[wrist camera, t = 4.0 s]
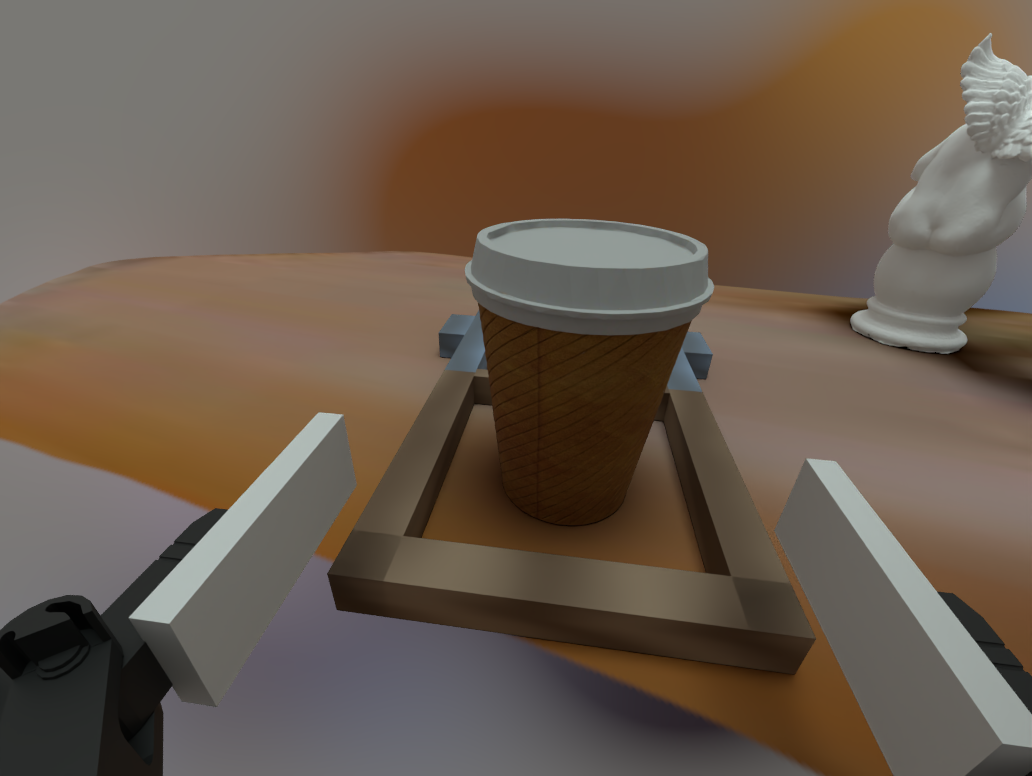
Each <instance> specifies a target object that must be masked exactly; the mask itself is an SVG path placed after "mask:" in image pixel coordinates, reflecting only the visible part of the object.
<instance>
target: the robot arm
mask: <svg viewBox="0 0 1032 776" xmlns="http://www.w3.org/2000/svg"><path fill="white" fill-rule="evenodd" d="M356 485H357V484H356V479H355V474H354V469H353V463H352V458H351V453H350V448H349V442H348V437H347V432H346V427H345V421H344V416H343V415H341V414H331V413H320V412H319V413H318V414H317V415H316V416H315V417H314V418H313V419H312V420H311V421H310V422H309V423H308V425H307V426H306V427H305V428H304V429H303V430H302V431H301V432H300V433H299V434H298V435H297V436H296V437H295V439H294V440H293V441H292V442H291V443H290V444H289V445H288V446H287V447H286V448H285V449H284V450H283V451H282V453H281V454H280V455H279V456H278V457H277V458H276V459H275V460H274V461H273V462H272V463H271V464H270V466H269V467H268V468H267V469H266V470H265V471H264V472H263V473H262V474H261V475H260V476H259V477H258V478H257V480H256V481H255V482H254V483H253V484H252V485H251V486H250V487H249V488H248V489H247V490H246V491H245V493H244V494H243V495H242V496H241V497H240V498H239V499H238V500H237V501H236V502H235V503H234V504H233V505H232V507H231V508H230V509H229V510H226V509H217V508H215V509H214V510H212V511H210V512H209V513H207V514H206V515H204V516H202V517H201V518H199V519H198V520H196V521H195V522H193V523H192V524H191V525H190V526H189V527H188V528H187V529H186V530H185V531H184V532H183V533H182V534H181V535H180V536H179V537H178V538H177V539H176V540H175V541H174V544H173V545H170V546H169V547H168V548H167V549H166V550H165V551H164V552H163V553H162V554H161V555H160V556H159V557H160V558H159V560H155V561H154V562H153V563H152V564H151V565H150V566H149V567H148V568H147V569H146V570H145V571H144V572H143V573H142V574H141V576H139V577H138V578H137V579H136V580H135V582H133V583H132V584H131V585H130V586H129V588H127V589H126V590H125V592H124V593H123V594H122V595H121V596H120V597H119V598H118V599H117V600H116V601H115V602H114V603H113V604H112V605H111V606H110V607H109V608H108V609H107V610H106V611H105V612H104V613H103V614H102V615H101V616H100V614H99V613H98V612H97V610H96V609H95V607H94V606H93V604H92V603H91V601H90V600H88V599H86V598H85V597H83V596H78V595H76V596H75V595H66V596H62V597H58V598H54V599H50V600H47V601H45V602H43V603H40V604H38V605H36V606H34V607H32V608H30V609H28V610H26V611H25V612H23V613H22V614H20V615H19V616H17V617H16V618H14V619H13V620H11V621H10V622H9V623H8V624H6V625H5V626H4V627H3V628H2V629H1V630H0V776H163V710H162V706H161V703H160V701H161V700H162V699H163V697H164V696H165V695H166V693H167V692H168V691H169V689H170V688H171V687H173V688H174V690H175V691H176V693H177V695H178V696H179V698H180V699H181V701H182V702H188V703H195V704H201V705H207V706H213V707H217V706H218V705H219V703H220V702H221V700H222V698H223V697H224V695H225V694H226V692H227V690H228V689H229V687H230V686H231V684H232V682H233V681H234V679H235V678H236V676H237V674H238V673H239V671H240V670H241V668H242V667H243V665H244V663H245V662H246V660H247V659H248V657H249V655H250V654H251V652H252V651H253V649H254V648H255V646H256V644H257V643H258V641H259V640H260V638H261V636H262V634H263V633H264V632H265V630H266V628H267V627H268V625H269V624H270V622H271V620H272V619H273V617H274V616H275V614H276V613H277V611H278V609H279V608H280V606H281V605H282V603H283V601H284V600H285V598H286V596H287V595H288V593H289V592H290V590H291V588H292V587H293V586H294V584H295V582H296V581H297V579H298V578H299V576H300V574H301V573H302V571H303V570H304V568H305V566H306V565H307V563H308V562H309V560H310V559H311V557H312V555H313V554H314V552H315V551H316V549H317V547H318V546H319V544H320V543H321V541H322V539H323V538H324V536H325V535H326V533H327V532H328V530H329V528H330V527H331V525H332V524H333V522H334V520H335V519H336V517H337V516H338V514H339V512H340V511H341V509H342V508H343V506H344V504H345V503H346V501H347V500H348V498H349V497H350V495H351V493H352V492H353V490H354V489H355V487H356ZM774 531H775V533H776V535H777V537H778V539H779V541H780V544H781V546H782V548H783V550H784V552H785V554H786V556H787V558H788V560H789V562H790V564H791V566H792V568H793V570H794V572H795V574H796V576H797V578H798V581H799V583H800V585H801V587H802V589H803V591H804V593H805V595H806V597H807V599H808V601H809V603H810V605H811V607H812V609H813V611H814V613H815V615H816V617H817V620H818V622H819V624H820V626H821V628H822V630H823V632H824V634H825V636H826V638H827V640H828V642H829V644H830V646H831V648H832V650H833V652H834V654H835V657H836V659H837V661H838V663H839V665H840V667H841V669H842V671H843V673H844V675H845V677H846V679H847V681H848V683H849V685H850V687H851V689H852V691H853V694H854V696H855V698H856V700H857V702H858V704H859V706H860V708H861V710H862V712H863V714H864V716H865V718H866V720H867V722H868V724H869V726H870V728H871V731H872V733H873V735H874V737H875V739H876V741H877V743H878V745H879V747H880V749H881V751H882V753H883V755H884V757H885V759H886V761H887V763H888V765H889V768H890V770H891V772H892V774H893V776H1032V676H1031V675H1030V674H1029V673H1028V672H1025V671H1024V670H1023V666H1022V664H1021V663H1020V662H1019V661H1018V659H1017V658H1016V657H1015V656H1014V655H1013V653H1012V652H1011V651H1010V650H1009V649H1006V648H1005V647H1004V645H1005V644H1004V643H1003V641H1002V640H1001V639H1000V638H999V637H998V635H997V634H996V633H995V632H994V631H993V629H992V628H991V627H990V626H989V624H988V623H987V622H986V621H985V620H984V618H983V617H982V616H980V615H979V614H978V613H977V612H975V611H974V610H973V609H972V608H970V607H969V606H968V605H967V604H966V603H964V602H963V601H962V600H961V599H959V598H958V597H957V596H956V595H955V594H953V593H944V592H937V591H936V590H935V589H934V588H933V586H932V585H931V584H930V582H929V581H928V580H927V579H926V577H925V576H924V575H923V573H922V572H921V571H920V570H919V568H918V567H917V566H916V564H915V563H914V562H913V560H912V559H911V558H910V557H909V555H908V554H907V553H906V551H905V550H904V549H903V548H902V546H901V545H900V544H899V542H898V541H897V540H896V539H895V537H894V536H893V535H892V533H891V532H890V531H889V530H888V528H887V527H886V526H885V524H884V523H883V522H882V520H881V519H880V518H879V517H878V515H877V514H876V513H875V511H874V510H873V509H872V508H871V506H870V505H869V504H868V502H867V501H866V500H865V499H864V497H863V496H862V495H861V493H860V492H859V491H858V489H857V488H856V487H855V486H854V484H853V483H852V482H851V480H850V479H849V478H848V477H847V475H846V474H845V473H844V471H843V470H842V469H841V468H840V466H839V465H838V464H837V462H836V461H827V460H816V459H805V462H804V464H803V466H802V469H801V471H800V473H799V475H798V478H797V480H796V482H795V485H794V487H793V489H792V491H791V494H790V496H789V498H788V501H787V503H786V505H785V507H784V510H783V512H782V514H781V517H780V519H779V521H778V523H777V526H776V528H775V530H774Z"/></svg>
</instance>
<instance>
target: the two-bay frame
mask: <svg viewBox="0 0 1032 776" xmlns="http://www.w3.org/2000/svg"><path fill="white" fill-rule="evenodd" d="M439 346H440V357H449V358H451V360H450V361H449V363H448V365H447V367H446V368H445V370H444V372H443V374H442V375H441V377H440V379H439V380H438V382H437V384H436V386H435V387H434V389H433V391H432V393H431V394H430V396H429V398H428V400H427V401H426V403H425V405H424V407H423V408H422V410H421V412H420V414H419V415H418V417H417V419H416V420H415V422H414V424H413V426H412V427H411V429H410V431H409V433H408V434H407V436H406V438H405V440H404V441H403V443H402V445H401V447H400V448H399V450H398V452H397V453H396V455H395V457H394V459H393V460H392V462H391V464H390V466H389V467H388V469H387V471H386V473H385V474H384V476H383V478H382V480H381V481H380V483H379V485H378V486H377V488H376V490H375V492H374V493H373V495H372V497H371V499H370V500H369V502H368V504H367V506H366V507H365V509H364V511H363V513H362V514H361V516H360V518H359V519H358V521H357V523H356V525H355V526H354V528H353V530H352V532H351V533H350V535H349V537H348V539H347V540H346V542H345V544H344V546H343V547H342V549H341V551H340V552H339V554H338V556H337V558H336V559H335V561H334V563H333V565H332V566H331V568H330V570H329V572H328V573H327V575H328V578H329V582H330V586H331V590H332V593H333V597H334V601H335V605H336V608H337V610H340V611H348V612H355V613H362V614H369V615H376V616H383V617H390V618H398V619H405V620H412V621H419V622H426V623H433V624H440V625H447V626H454V627H461V628H468V629H475V630H483V631H490V632H497V633H504V634H511V635H518V636H525V637H532V638H539V639H546V640H554V641H561V642H568V643H575V644H582V645H589V646H596V647H603V648H610V649H617V650H625V651H632V652H639V653H646V654H653V655H660V656H667V657H674V658H681V659H688V660H696V661H703V662H710V663H717V664H724V665H731V666H738V667H745V668H752V669H759V670H767V671H774V672H781V673H788V674H795V673H796V671H797V670H798V668H799V666H800V665H801V663H802V661H803V660H804V658H805V656H806V655H807V653H808V651H809V650H810V648H811V647H812V645H813V643H814V642H815V640H816V638H815V635H814V633H813V631H812V629H811V627H810V625H809V622H808V620H807V618H806V616H805V614H804V611H803V609H802V607H801V605H800V603H799V601H798V598H797V596H796V594H795V592H794V590H793V588H792V585H791V583H790V581H789V579H788V577H787V575H786V572H785V570H784V568H783V566H782V564H781V562H780V559H779V557H778V555H777V553H776V551H775V549H774V546H773V544H772V542H771V540H770V538H769V536H768V533H767V531H766V529H765V527H764V525H763V523H762V520H761V518H760V516H759V514H758V512H757V510H756V507H755V505H754V503H753V501H752V499H751V496H750V494H749V492H748V490H747V488H746V486H745V483H744V481H743V479H742V477H741V475H740V473H739V470H738V468H737V466H736V464H735V462H734V460H733V457H732V455H731V453H730V451H729V449H728V447H727V444H726V442H725V440H724V438H723V436H722V434H721V431H720V429H719V427H718V425H717V423H716V421H715V418H714V416H713V414H712V412H711V410H710V408H709V405H708V403H707V401H706V399H705V397H704V395H703V392H702V390H701V388H700V386H699V384H698V382H697V379H696V378H700V379H706V378H707V374H708V370H709V367H710V363H711V359H712V355H713V354H712V352H711V350H710V349H709V347H708V345H707V344H706V342H705V340H704V338H703V337H702V335H701V333H696V332H687V334H686V337H685V339H684V342H683V345H682V347H681V350H680V352H679V355H678V358H677V360H676V363H675V366H674V368H673V370H672V373H671V376H670V379H669V381H668V384H667V387H666V390H665V392H664V394H663V397H662V400H661V403H660V405H659V407H658V410H657V413H656V415H655V418H654V420H660V421H664V424H665V428H666V431H667V435H668V438H669V442H670V445H671V449H672V452H673V456H674V460H675V463H676V467H677V470H678V474H679V477H680V481H681V484H682V488H683V492H684V495H685V499H686V502H687V506H688V509H689V513H690V516H691V520H692V524H693V527H694V531H695V534H696V538H697V541H698V545H699V548H700V552H701V556H702V559H703V563H704V566H705V570H706V573H700V572H692V571H684V570H676V569H668V568H660V567H651V566H643V565H635V564H627V563H619V562H611V561H603V560H594V559H586V558H578V557H570V556H562V555H554V554H546V553H538V552H529V551H521V550H513V549H505V548H497V547H489V546H481V545H472V544H464V543H456V542H448V541H440V540H432V539H424V538H421V537H422V534H423V532H424V529H425V526H426V524H427V521H428V519H429V516H430V514H431V511H432V509H433V506H434V504H435V501H436V499H437V496H438V494H439V491H440V489H441V486H442V484H443V481H444V479H445V476H446V473H447V471H448V468H449V466H450V463H451V461H452V458H453V456H454V453H455V451H456V448H457V446H458V443H459V441H460V438H461V436H462V433H463V431H464V428H465V425H466V423H467V420H468V418H469V415H470V413H471V410H472V408H473V405H474V403H477V404H488V405H492V398H491V392H490V384H489V375H488V370H487V361H486V356H485V347H484V342H483V333H482V328H481V320H480V312H479V311H478V313H477V314H476V316H468V315H454V314H452V315H451V316H450V318H449V319H448V320H447V322H446V323H445V325H444V326H443V328H442V329H441V330H440V332H439Z"/></svg>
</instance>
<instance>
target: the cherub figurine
mask: <svg viewBox="0 0 1032 776" xmlns="http://www.w3.org/2000/svg"><path fill="white" fill-rule="evenodd" d="M991 37H992V34H991V33H990V34H989V35H988V36H987V37H986V38H985V39H984V40H983V41H982V42H981V43H980V44H979V45H978V47H975V48H974V49H973V50H972V52H971V54H970V56H969V58H968V60H967V62H966V63H964V64H963V65H962V68H961V76H962V77H963V80H962V81H961V82H960V86H961V87H962V89H963V94H962V98H963V99H964V100H965V101H967V105H965V107H964V111H965V114H966V117H965V122H966V124H965V125H963V126H961V127H960V128H958V129H957V130H956V131H955V132H953V133H952V134H951V135H950V136H949V137H948V138H946V139H945V140H944V141H943V142H942V143H940V144H939V145H938V146H936V147H935V148H933V149H932V150H930V151H929V152H928V153H926V154H925V155H924V156H923V157H921V158H920V159H919V161H918V162H917V164H916V165H915V167H914V169H913V172H912V174H911V179H913V180H915V181H919V182H918V184H917V186H916V187H914V188H913V189H912V190H911V191H910V192H909V193H907V194H906V196H905V197H904V198H903V199H902V200H901V201H900V202H899V204H898V205H897V207H896V208H895V210H894V211H893V213H892V215H891V217H890V220H889V226H888V235H889V237H890V239H891V240H892V242H893V244H892V245H891V246H890V247H889V249H888V250H887V251H886V252H885V254H884V255H883V256H882V258H881V260H880V261H879V263H878V265H877V268H876V271H875V275H874V290H875V296H874V297H871V298H869V299H868V301H867V306H868V310H862V311H858V312H856V313H855V314H853V315H852V317H851V320H850V322H851V326H852V329H853V330H855V331H857V332H859V333H861V334H862V335H865V336H867V337H871V338H872V339H873V340H875V341H878V342H879V343H880V342H881V343H883V344H888V345H889V346H891V345H893V346H897V347H901V346H907V347H909V349H912V350H919V351H924V352H937V353H938V352H940V353H941V354H949V353H952V352H955V351H959V349H960V348H961V347H963V346H964V345H965V344H966V343H967V337H966V335H965V334H964V333H963V332H962V331H960V330H959V329H958V327H959V325H962V324H964V323H965V322H966V320H967V317H966V315H965V314H964V313H963V312H965V311H966V310H968V309H969V308H970V307H971V306H973V305H974V304H975V303H976V302H977V301H978V300H979V299H980V298H981V297H982V296H983V295H984V294H985V293H986V291H987V290H988V288H989V287H990V285H991V283H992V281H993V280H994V277H995V273H996V267H997V251H996V246H998V245H999V244H1001V243H1002V242H1004V241H1005V240H1006V239H1008V238H1009V237H1010V236H1011V235H1012V234H1013V233H1014V232H1015V231H1016V230H1017V229H1018V227H1019V226H1020V224H1021V222H1022V220H1023V218H1024V215H1025V212H1026V207H1027V205H1026V204H1027V202H1026V186H1027V184H1028V183H1029V181H1030V180H1031V178H1032V76H1027V75H1026V74H1025V72H1023V71H1022V70H1021V69H1020V68H1019V67H1018V66H1015V65H1012V64H1011V63H1010V62H1009V61H1007V60H1005V59H999V58H997V57H996V56H995V55H993V52H992V48H991ZM868 334H870V336H869V335H868Z"/></svg>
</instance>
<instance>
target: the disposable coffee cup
mask: <svg viewBox="0 0 1032 776" xmlns="http://www.w3.org/2000/svg"><path fill="white" fill-rule="evenodd" d="M465 274H466V279H467V283H468V284H469V285H470V286H471V287H472V293H473V296H474V298H475V299H476V300H477V302H478V306H479V312H480V320H481V328H482V333H483V342H484V347H485V356H486V361H487V370H488V375H489V384H490V392H491V398H492V406H493V415H494V421H495V428H496V433H497V434H496V436H497V442H498V450H499V456H500V464H501V471H502V481H503V487H504V489H505V491H506V494H507V495H508V497H509V498H510V499H511V500H512V502H513V503H514V504H515V505H516V506H517V507H519V508H520V509H521V510H522V511H524V512H526V513H527V514H529V515H531V516H532V517H535V518H538V519H541V520H543V521H546V522H550V523H554V524H560V525H584V524H589V523H593V522H597V521H599V520H602V519H604V518H606V517H608V516H610V515H611V514H612V513H614V512H615V511H616V510H617V509H618V508H619V506H620V505H621V504H622V502H623V500H624V498H625V495H626V492H627V489H628V487H629V484H630V481H631V479H632V476H633V473H634V471H635V468H636V466H637V463H638V460H639V458H640V455H641V452H642V450H643V447H644V444H645V442H646V439H647V437H648V434H649V431H650V429H651V426H652V423H653V421H654V418H655V415H656V413H657V410H658V407H659V405H660V403H661V400H662V397H663V394H664V392H665V390H666V387H667V384H668V381H669V379H670V376H671V373H672V370H673V368H674V366H675V363H676V360H677V358H678V355H679V352H680V350H681V347H682V345H683V342H684V339H685V337H686V334H687V331H688V329H689V326H690V323H691V321H692V319H694V318H695V317H696V316H697V315H698V314H699V313H700V310H701V307H702V305H703V304H705V303H706V302H708V301H709V299H710V297H711V295H712V293H713V289H714V285H713V283H712V281H711V280H710V279H709V278H708V249H707V247H706V246H705V245H704V244H703V243H701V242H699V241H697V240H695V239H693V238H691V237H689V236H686V235H683V234H679V233H676V232H672V231H668V230H664V229H660V228H654V227H649V226H644V225H637V224H629V223H622V222H613V221H600V220H584V219H536V220H523V221H516V222H509V223H502V224H498V225H494V226H490V227H488V228H486V229H484V230H481V232H479V233H478V236H477V240H476V245H475V250H474V255H473V259H472V260H471V261H470V262H469V263H468V264H467V265H466V267H465Z"/></svg>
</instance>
